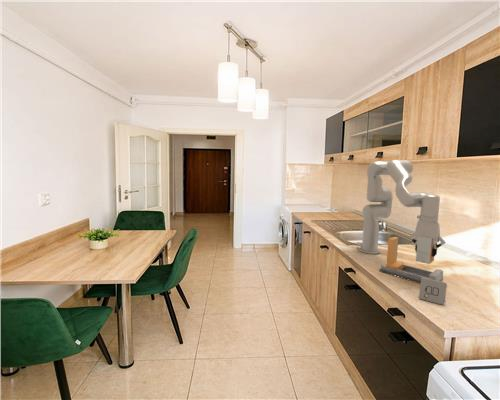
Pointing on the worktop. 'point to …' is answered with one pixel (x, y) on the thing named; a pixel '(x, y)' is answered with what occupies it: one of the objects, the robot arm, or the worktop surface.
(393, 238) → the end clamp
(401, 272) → the din rail
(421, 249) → the small box
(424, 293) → the electrical switch
